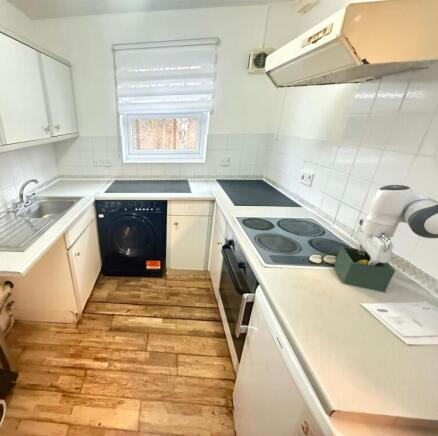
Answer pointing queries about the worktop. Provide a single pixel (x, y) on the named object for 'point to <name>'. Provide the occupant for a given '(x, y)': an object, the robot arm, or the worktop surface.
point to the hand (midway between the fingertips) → (365, 260)
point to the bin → (362, 270)
